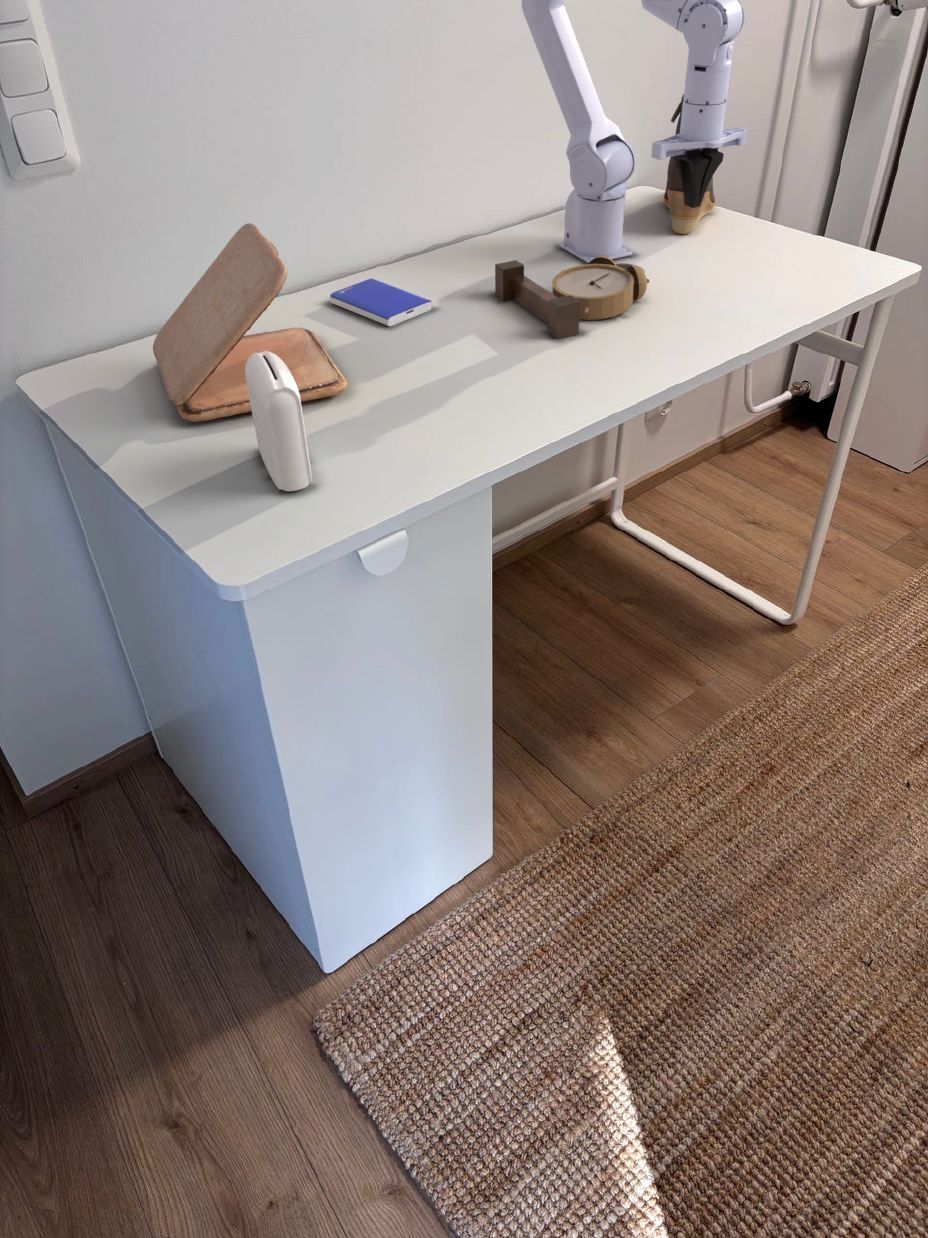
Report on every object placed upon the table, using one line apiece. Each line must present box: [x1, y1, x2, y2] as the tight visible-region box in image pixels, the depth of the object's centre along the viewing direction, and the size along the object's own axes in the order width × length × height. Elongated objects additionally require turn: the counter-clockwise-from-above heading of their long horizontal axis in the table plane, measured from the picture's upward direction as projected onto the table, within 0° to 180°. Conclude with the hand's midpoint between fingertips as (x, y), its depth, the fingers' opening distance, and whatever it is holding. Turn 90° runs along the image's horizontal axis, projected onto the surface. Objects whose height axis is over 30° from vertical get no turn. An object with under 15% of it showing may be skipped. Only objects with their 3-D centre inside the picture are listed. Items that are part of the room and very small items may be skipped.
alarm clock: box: [551, 256, 650, 321], centre depth 137 cm, size 11×5×15 cm
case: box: [152, 222, 348, 423], centre depth 117 cm, size 20×21×16 cm
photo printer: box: [245, 351, 313, 492], centre depth 101 cm, size 10×4×12 cm, turn 22°
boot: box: [663, 93, 716, 235], centre depth 160 cm, size 9×24×20 cm, turn 168°
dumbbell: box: [494, 259, 580, 340], centre depth 134 cm, size 17×4×4 cm, turn 26°
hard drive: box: [329, 277, 432, 327], centre depth 138 cm, size 2×8×12 cm
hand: (692, 205), depth 140 cm, fingers closed
